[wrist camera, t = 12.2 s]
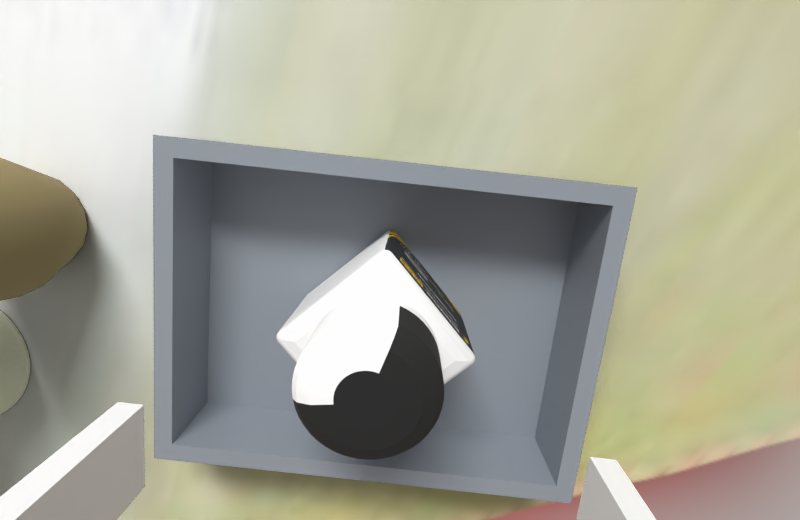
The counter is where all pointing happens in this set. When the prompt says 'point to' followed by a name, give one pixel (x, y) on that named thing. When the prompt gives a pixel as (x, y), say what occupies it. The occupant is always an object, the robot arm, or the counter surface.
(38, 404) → the counter surface
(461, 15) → the counter surface
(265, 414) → the grey box
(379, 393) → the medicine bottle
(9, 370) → the can
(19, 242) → the squeeze bottle
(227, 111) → the counter surface
